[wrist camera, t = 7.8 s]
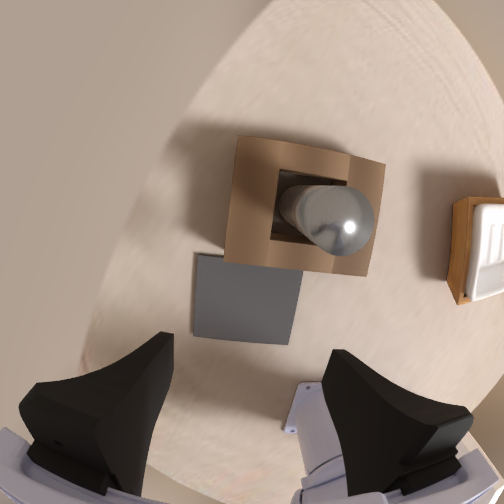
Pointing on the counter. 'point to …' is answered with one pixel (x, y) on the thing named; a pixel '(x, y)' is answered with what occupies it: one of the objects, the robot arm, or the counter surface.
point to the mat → (244, 301)
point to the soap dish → (477, 249)
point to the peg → (329, 216)
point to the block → (263, 201)
